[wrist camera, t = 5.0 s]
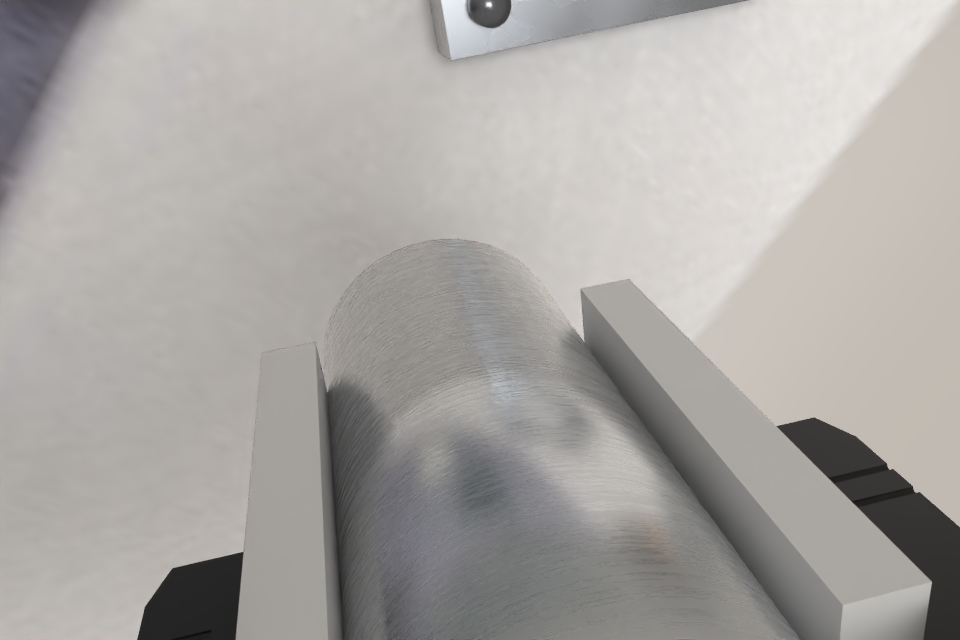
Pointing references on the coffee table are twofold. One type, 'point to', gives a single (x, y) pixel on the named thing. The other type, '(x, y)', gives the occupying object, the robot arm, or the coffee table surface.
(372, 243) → the coffee table surface
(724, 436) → the robot arm
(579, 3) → the socket
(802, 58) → the coffee table surface
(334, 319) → the grey cylinder
